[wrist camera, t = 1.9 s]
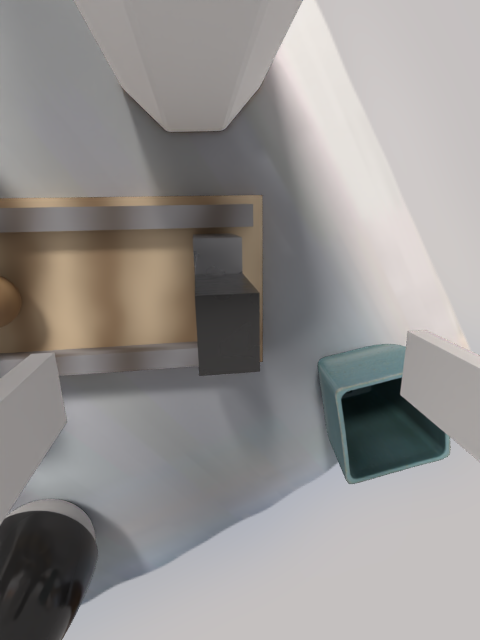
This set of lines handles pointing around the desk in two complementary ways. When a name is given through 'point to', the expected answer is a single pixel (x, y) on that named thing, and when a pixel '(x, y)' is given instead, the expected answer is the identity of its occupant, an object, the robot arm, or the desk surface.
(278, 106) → the desk surface
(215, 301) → the block
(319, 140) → the desk surface
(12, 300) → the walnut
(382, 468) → the flower pot
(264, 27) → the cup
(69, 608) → the pump dispenser
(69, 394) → the desk surface
